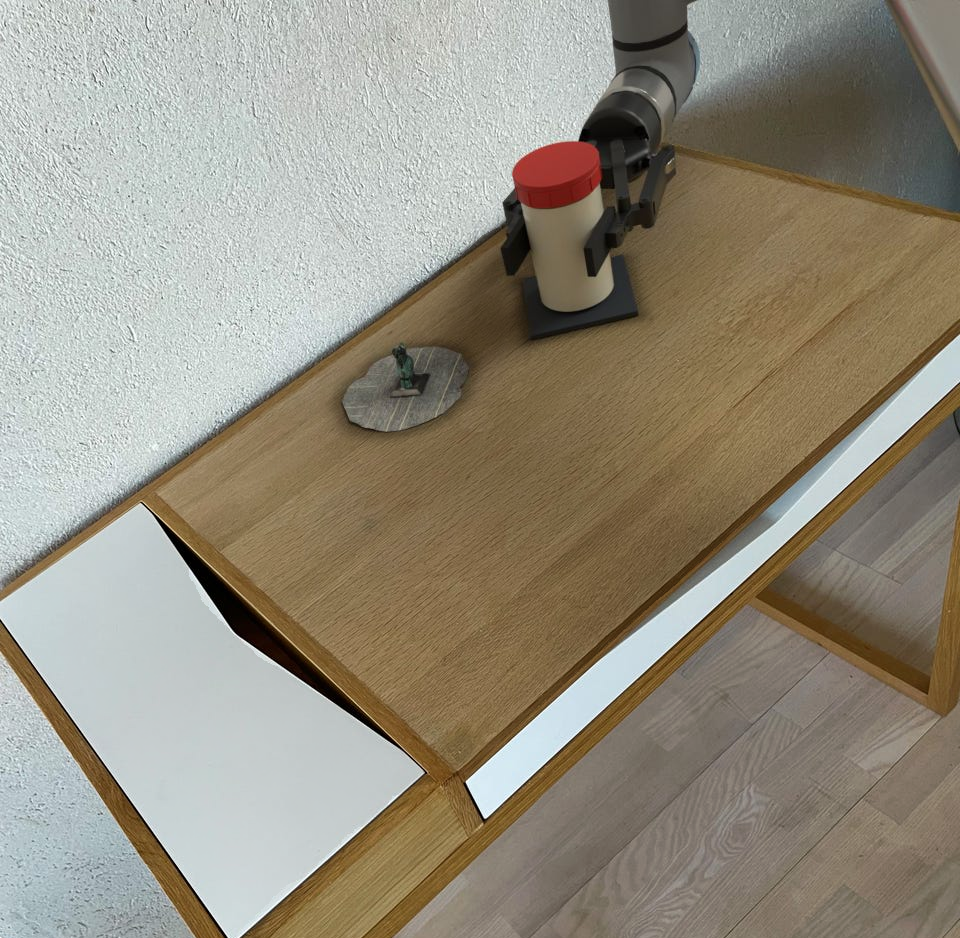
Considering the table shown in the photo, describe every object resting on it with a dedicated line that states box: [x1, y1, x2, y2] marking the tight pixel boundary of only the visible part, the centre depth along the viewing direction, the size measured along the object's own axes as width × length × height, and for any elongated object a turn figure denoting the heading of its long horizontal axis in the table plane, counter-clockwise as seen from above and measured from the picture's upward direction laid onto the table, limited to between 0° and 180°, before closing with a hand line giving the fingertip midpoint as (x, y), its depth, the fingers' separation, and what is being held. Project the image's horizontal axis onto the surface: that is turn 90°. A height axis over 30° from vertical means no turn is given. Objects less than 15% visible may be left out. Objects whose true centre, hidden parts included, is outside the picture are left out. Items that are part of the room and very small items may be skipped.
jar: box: [521, 183, 614, 312], centre depth 86 cm, size 7×7×12 cm
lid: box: [511, 140, 602, 208], centre depth 81 cm, size 8×8×2 cm
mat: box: [522, 254, 639, 341], centre depth 90 cm, size 10×10×1 cm
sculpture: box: [341, 342, 470, 433], centre depth 88 cm, size 12×9×8 cm
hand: (547, 262), depth 83 cm, fingers closed on jar, 7 cm apart
